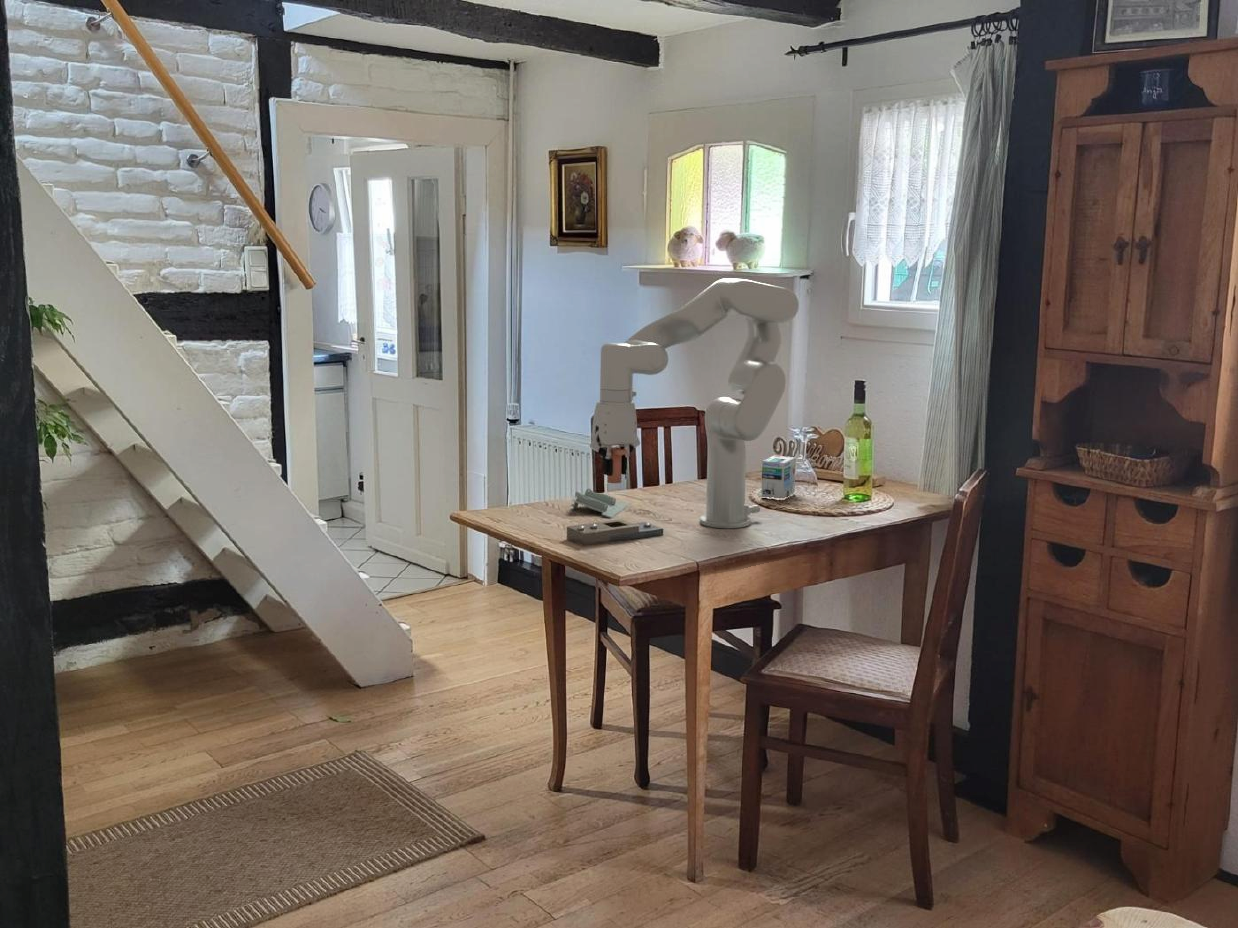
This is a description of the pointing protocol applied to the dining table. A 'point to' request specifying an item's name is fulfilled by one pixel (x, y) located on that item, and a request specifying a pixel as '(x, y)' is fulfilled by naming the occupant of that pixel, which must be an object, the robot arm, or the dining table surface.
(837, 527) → the dining table surface
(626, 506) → the metal bracket
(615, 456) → the orange t-shaped block
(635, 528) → the studded slotted plate
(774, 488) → the light bulb box
